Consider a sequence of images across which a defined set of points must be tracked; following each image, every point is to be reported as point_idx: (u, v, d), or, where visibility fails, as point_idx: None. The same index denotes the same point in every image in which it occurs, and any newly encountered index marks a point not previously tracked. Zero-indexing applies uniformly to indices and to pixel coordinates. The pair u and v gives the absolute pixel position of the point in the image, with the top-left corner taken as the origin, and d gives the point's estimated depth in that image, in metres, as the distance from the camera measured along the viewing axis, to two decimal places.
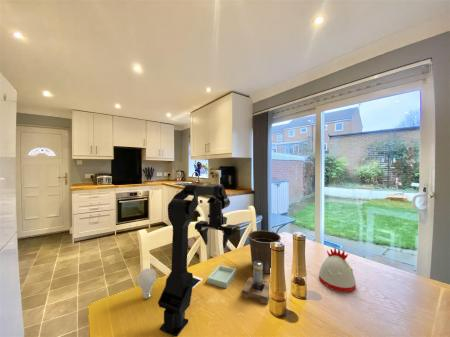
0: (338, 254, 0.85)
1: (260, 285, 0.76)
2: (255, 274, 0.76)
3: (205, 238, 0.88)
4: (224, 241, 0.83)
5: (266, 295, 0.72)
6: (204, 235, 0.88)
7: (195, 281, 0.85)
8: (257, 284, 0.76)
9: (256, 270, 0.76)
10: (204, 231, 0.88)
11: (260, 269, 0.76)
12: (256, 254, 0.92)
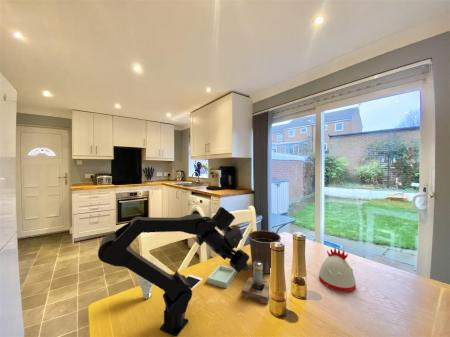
0: (338, 254, 0.85)
1: (260, 285, 0.76)
2: (255, 274, 0.76)
3: (229, 256, 0.76)
4: None
5: (266, 295, 0.72)
6: None
7: (195, 281, 0.85)
8: (257, 284, 0.76)
9: (256, 270, 0.76)
10: None
11: (260, 269, 0.76)
12: (256, 254, 0.92)
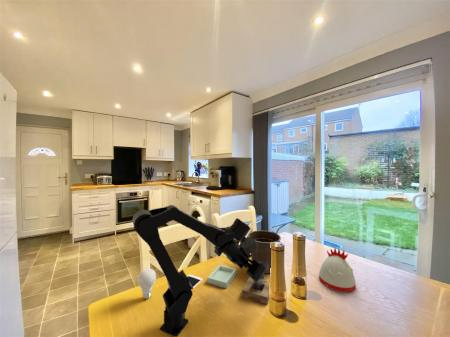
0: (338, 254, 0.85)
1: (260, 285, 0.76)
2: None
3: None
4: None
5: (266, 295, 0.72)
6: None
7: (195, 281, 0.85)
8: (257, 284, 0.76)
9: None
10: None
11: None
12: (256, 254, 0.92)
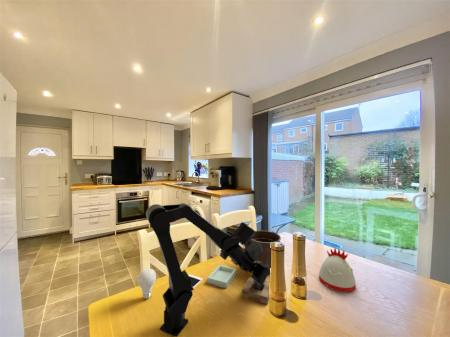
0: (338, 254, 0.85)
1: (260, 285, 0.76)
2: None
3: None
4: None
5: (266, 295, 0.72)
6: (248, 269, 0.78)
7: (195, 281, 0.85)
8: (257, 284, 0.76)
9: None
10: None
11: None
12: None
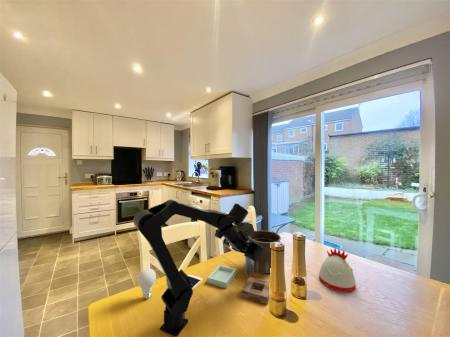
0: (338, 254, 0.85)
1: (252, 264, 0.79)
2: None
3: (244, 251, 0.81)
4: None
5: (266, 295, 0.72)
6: (241, 250, 0.81)
7: (195, 281, 0.85)
8: (249, 263, 0.79)
9: None
10: None
11: None
12: None
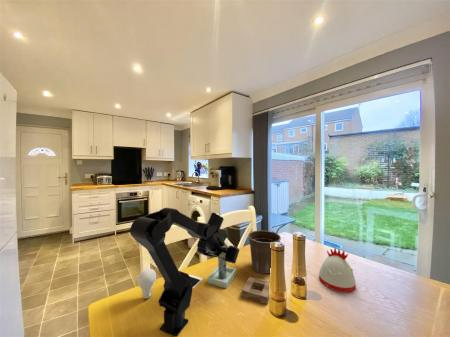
0: (338, 254, 0.85)
1: (225, 269, 0.86)
2: (221, 260, 0.86)
3: None
4: None
5: (266, 295, 0.72)
6: (211, 254, 0.87)
7: (195, 281, 0.85)
8: (223, 269, 0.86)
9: (222, 257, 0.86)
10: None
11: (225, 255, 0.86)
12: (256, 254, 0.92)
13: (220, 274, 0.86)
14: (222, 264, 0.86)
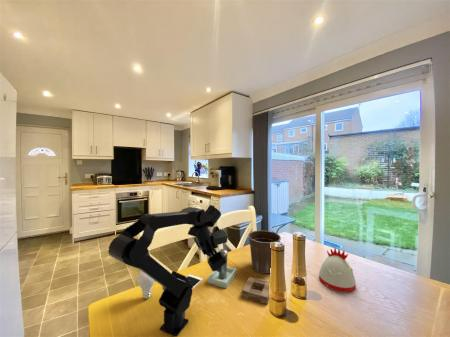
0: (338, 254, 0.85)
1: (225, 269, 0.86)
2: None
3: None
4: None
5: (266, 295, 0.72)
6: None
7: (195, 281, 0.85)
8: (224, 269, 0.86)
9: None
10: None
11: (226, 255, 0.86)
12: (256, 254, 0.92)
13: (220, 274, 0.86)
14: None
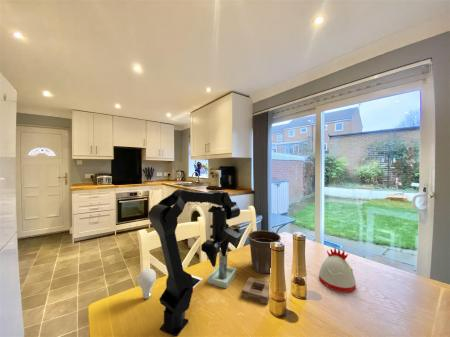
0: (338, 254, 0.85)
1: (225, 269, 0.86)
2: (222, 261, 0.86)
3: (222, 248, 0.82)
4: None
5: (266, 295, 0.72)
6: (221, 244, 0.82)
7: (195, 281, 0.85)
8: (224, 269, 0.86)
9: (223, 257, 0.86)
10: None
11: (226, 255, 0.86)
12: (256, 254, 0.92)
13: (220, 274, 0.86)
14: (223, 264, 0.86)
